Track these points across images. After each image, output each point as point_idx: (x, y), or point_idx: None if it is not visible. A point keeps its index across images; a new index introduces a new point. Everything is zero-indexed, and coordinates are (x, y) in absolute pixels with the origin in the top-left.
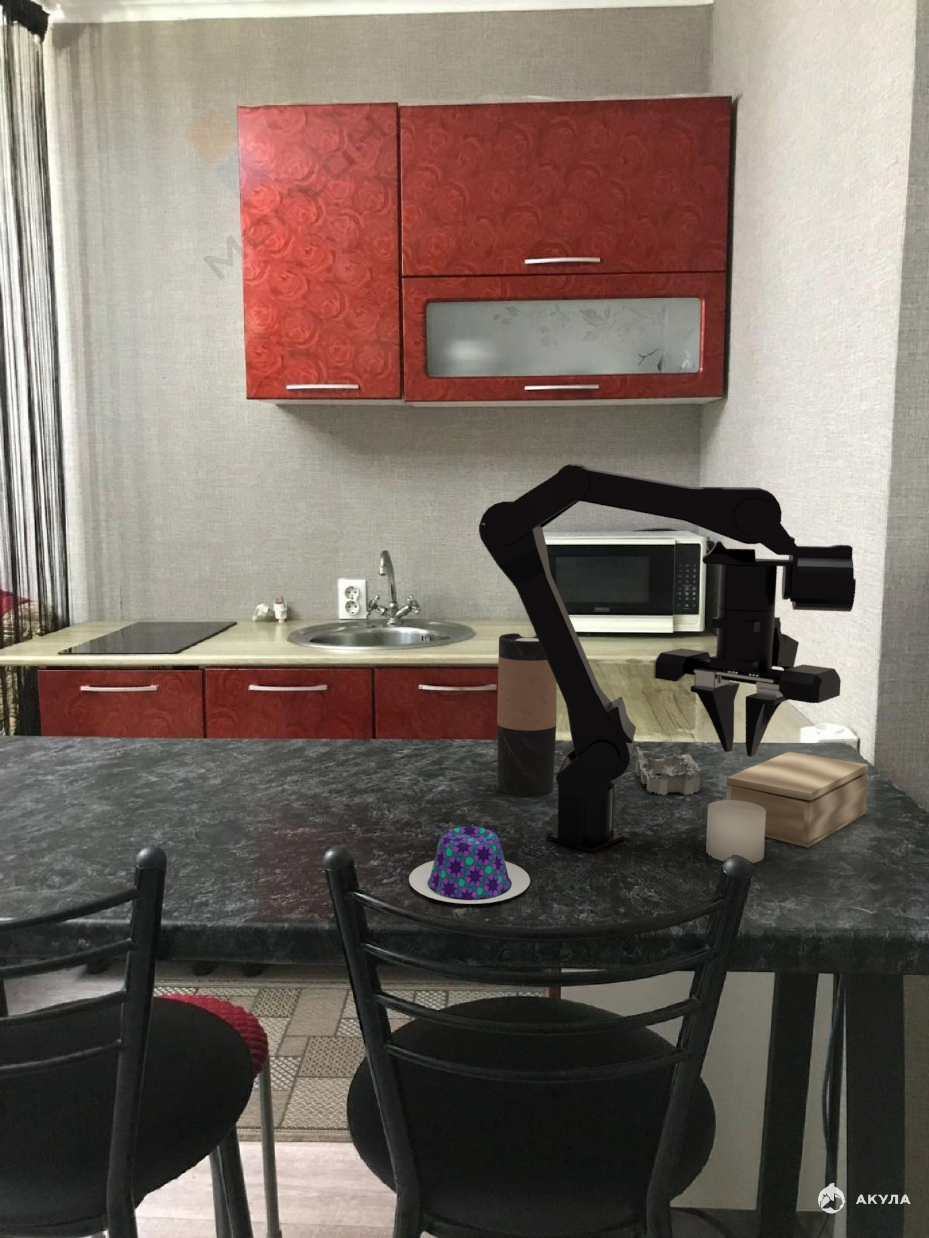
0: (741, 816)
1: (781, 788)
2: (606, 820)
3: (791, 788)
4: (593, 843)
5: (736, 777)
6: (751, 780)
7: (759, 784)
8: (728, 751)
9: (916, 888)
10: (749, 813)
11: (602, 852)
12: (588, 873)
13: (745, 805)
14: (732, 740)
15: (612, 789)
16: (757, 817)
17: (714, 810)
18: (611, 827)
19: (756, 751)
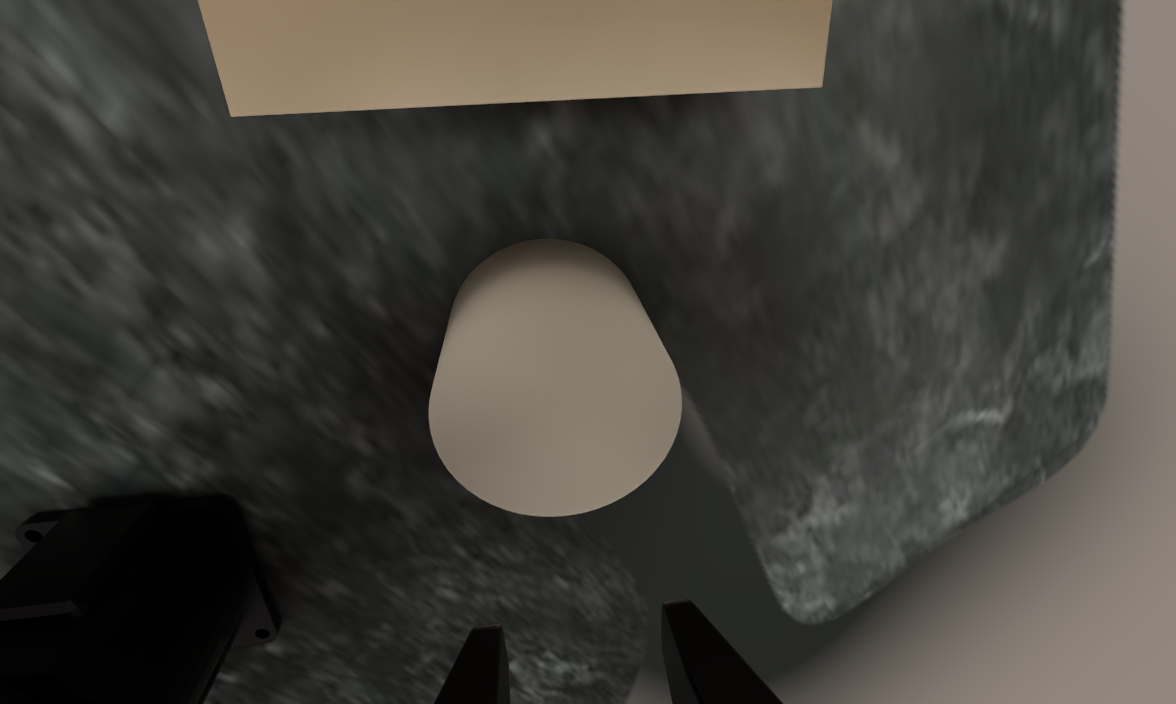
0: (625, 477)
1: (631, 96)
2: (214, 638)
3: (687, 62)
4: (244, 616)
5: (275, 72)
6: (394, 68)
7: (478, 103)
8: (506, 658)
9: (1108, 171)
10: (629, 427)
11: (287, 599)
12: (385, 692)
13: (560, 354)
14: (500, 694)
15: (86, 664)
16: (675, 436)
17: (507, 496)
18: (174, 538)
19: (705, 618)
